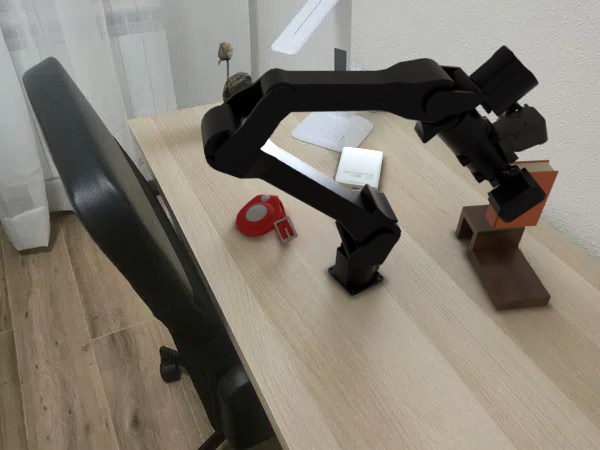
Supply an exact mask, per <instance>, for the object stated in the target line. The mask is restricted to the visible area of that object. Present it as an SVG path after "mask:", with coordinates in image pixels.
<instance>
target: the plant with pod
mask: <svg viewBox="0 0 600 450" xmlns="http://www.w3.org/2000/svg"><path fill="white" fill-rule="evenodd" d="M233 53H234V48H233V45H232V44H231V43H228V42H226V41H223V42H221V43H219V48H218V52H217V57H218V58H219V60H218V63H217V65H218V66H220V65H221V63H222V62H224V61H226V81H225V82H224V84H223V85H224V86H223V90H222V95H221V96H222V101H223V103H224V102H225V101H226V100H227V99H228V98H229V97H230V96H231V95H232V94H233V93H235V92H236V91H238V90H240V89H242V88H244V87H246V86H248V85H250V84H252V83H253V78H252V75H250V74H249V72H244V71H239V72H236V73H235V74H232V75H231V76H230V62H229V61H231V59H232V57H233Z"/></svg>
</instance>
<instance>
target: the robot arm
mask: <svg viewBox="0 0 600 450" xmlns="http://www.w3.org/2000/svg"><path fill="white" fill-rule="evenodd" d="M539 84H540V82H539V81H538V79H537V77H536V75H535V74H534V72H532V71H531V70H530V69H529V68H528V67H526V66H525V65H524V63H522V61H521V60H520V59H519V58H518V57H517V55H516V54H515V53H514V51H512V50H511V49H510V48H509V47H508V46H507V45H504V44H502V45H501V46H500V47H499V48H497V50H495V52H494V53H493V54H492V55H491V56H490V57H489V58H488V59H487V60H485V62H483V63H482V64H481V65H480V66H479V67H477V68H476V69H475V70H474V71H473V72H472V73H471V74H470V75H468V74H467V72H466V71H465V70H464V69H462V67H461V66H455V65H441V64H439V63H438V62H437V61H436V60H435V59H433V58H428V57H420V58H415V59H410V60H404V61H398V62H397V63H394V64H393V65H391V66H389V67H387V68H384V69H377V70H376V69H375V70H287V69H283V68H279V67H274V68H270V69H268V70H267V71H265V72H264V73H263V74H262V75H261V76H260V77H259V78H258V79H256V80H255V81H254V82H252V84H250V85H248V86H246V87H244V88H242V89H240V90H238V91H236V92H235V93H233V94H232V95H231V96H230V97H229V98H228V99H227V100H226V101H225V102H224V101H223V102H222V103H221V104H220V105H215V106H213V107H212V108H210V109H208V110H207V111H206V112H205V113H204V115H203V117H202V119H201V121H200V130H201V140H202V149H203V154H204V158H205V161H206V163H207V165H208V166H209V167H210V168H212V169H213V170H214V171H216V172H219V173H222V174H225V175H227V176H231V177H234V178H237V179H240V180H250V179H251V180H253V179H258V180H261V181H264V182H265V183H267V184H269V185H271V186H272V187H275V188H276V189H278V190H279V191H282V192H284V193H285V194H287V195H289V196H290V197H292V198H294V199H296V200H298V201H300V202H302V203H304V204H305V205H307V206H309V207H311V208H312V209H314V210H316V211H318V212H320V213H322V214H323V215H325V216H328V218H331V219H333V220H334V224H335V227H336V229H337V231H338V232H337V233H338V234H339V238H340V241H341V242H340V245H339V246H337V247H336V250H335V251H336V254H335V263H334V265H331V266H330V267H328V268H327V272H328V274H329V275H330V276H331V277H332V278H333V280H335V281H336V282H337V283H338V284H339V286H340V287H342V288H343V289H344V291H346V293H348V294H349V295H350V296H352V297H354V296H357V295H358V294H361V293H362V292H364V291H366V290H368V289H370V288H372V287H375V286H376V285H378V284H380V283H382V282H383V281H384V279H385V277H384V276H383V275H382V274H381V273H380V272H379V270H380V266H381V265H383V264H384V263H385V261H386V260H387V258H388V257H389V255H390V253H391V252H392V250H393V249H394V247H395V246H396V245H397V243H398V242H399V241H400V238H401V236H402V229H401V226H400V225H399V219H398V217H397V215H396V213H395V212H394V210H393V208H392V206H391V204H390V202H389V199H388V197H387V196H386V193H385V192H382V191H378V190H377V191H376V190H374V189H373V188H372V187H371V186H370V185H369V184H365V186H364V187H363V189H362V190H358V191H352V190H349V189H347V188H346V187H344V186H342V185H341V184H339V183H337V182H336V181H335V179H332V178H331V177H329V176H327V175H326V174H324V173H322V172H321V171H319V170H317V169H316V168H314V167H313V166H311V165H309V164H308V163H306V162H304V161H303V160H301V159H299V158H298V157H296V156H294V155H293V154H291V153H289V152H288V151H286V150H285V149H282V148H281V147H279V146H278V145H276V144H275V143H274V142H272V140H271V139H270V138H271V136H272V135H273V134H274V132H275V130H277V128H278V127H279V125H280V124H281V123H282V121H283V120H284V119H285V118H286V117H288V116H289V115H290V114H291V113H332V112H385V113H389V114H392V115H395V116H398V117H400V118H402V119H405V120H409V121H415V125H414V128H413V130H414V132H415V134H416V136H417V137H418V138H419V140H420V141H421V142H422V144H427V143H429V142H430V141H431V140H433V138H435V137H436V136H437V137H438V138H439V139H440V140H441V141H442V142H443V143H444V144H445V146H447V148H448V149H449V150H450V151H451V152H452V153H453V154H454V156H455V158H456V160H457V161H458V162H459V164H460V165H461V166H462V168H465V167H466V168H467V169H468V170H469V172H470V173H471V175H472V177H473V178H474V180H475V181H476V182H477V183H478V184H481V183H483V182H484V181H486V182H488V183H489V185H490V186H491V188H492V189H491V190H489V191H488V192H487V193H486V194H487V196H488V197H487V201H488V204H489V203H490V204H491V206H492V207H493V209H494V211H495V212H496V214H497V215H498V217H499V218H500V219H501V220H502V221H503V222H504V223H511V222H512V221H514V220H515V219H517V218H518V217H520V216H521V215H523V214H524V213H526V212H527V211H529V210H530V209H532V208H533V207H535V206H536V205H538V204H539V203H541V202H542V201H544V200H545V197H546V195H547V194H546V193H545V192H544V190H543V189H542V188H541V186H540V185H539V184H538V183H537V181H536V180H535V179H534V178H533V176H532V175H531V174H530V173H529V171H527V169H526V168H525V167H524V168H522V169H520V168H519V167H518V166H517V165H510V164H512V163H513V162H515V161H519V159H520V158H519V156H518V155H517V154H516V153H521V152H524V151H526V150H528V149H531V148H533V147H536V146H538V145H539V146H541V145H545V143H547V142H548V141H549V136H548V128H547V121H546V119H545V117H544V116H543V115H542V114H541V113H540V112H539V111H538V110H537V109H536V108H535V107H534V106H532V105H531V106H530V105H529V104H528V103H527V102H526V103H524V104H523V106H522V105H521V104H520V103H519V101H520V100H521V99H522V98H524V97H525V96H526V95H527V94H529V93H530V92H531V91H532V90H534V89H535V88H536V87H537V86H538V85H539ZM479 106H480V107H481V108H482V110H483V111H484V112H485V113H486V114H487V115H490V114H491V113H493V114H494V115H495V116H496V117H497V118H496V120H495V121H494V122H492V121H491V120H490V119H489V118H488V117H487V115H482V114H481V113H480V112H479V110H478V109H477V108H478V107H479ZM509 163H510V164H509ZM504 170H505V172H506V173H504V172H503V171H504ZM508 172H509V173H508Z"/></svg>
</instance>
